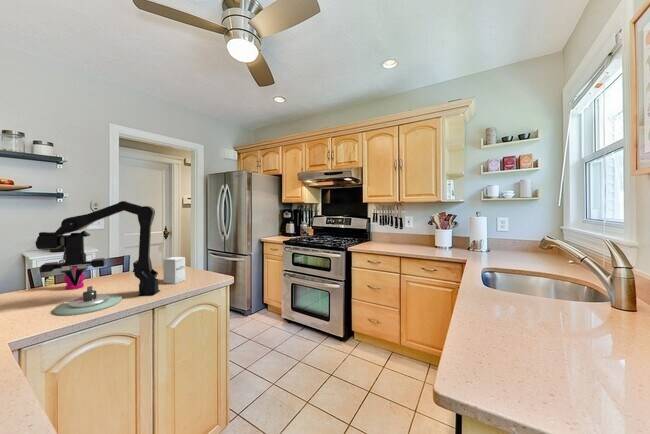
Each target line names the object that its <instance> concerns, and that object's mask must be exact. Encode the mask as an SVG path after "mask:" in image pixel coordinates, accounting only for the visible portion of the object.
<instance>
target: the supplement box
mask: <svg viewBox="0 0 650 434" xmlns="http://www.w3.org/2000/svg"><path fill="white" fill-rule="evenodd" d="M162 261H163V271H162V272H163V274H162V275H163V283H164V284H171V285H176V284H178V283H181V282H184V281H186V257H185V256H172V257H167V258H163V260H162ZM183 280H184V281H183Z"/></svg>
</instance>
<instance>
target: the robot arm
mask: <svg viewBox="0 0 650 434" xmlns="http://www.w3.org/2000/svg"><path fill="white" fill-rule="evenodd" d="M124 211H125V212H128V213H130V214H132V215H133V214H134V215H137V221H138V224H139V243H138V244H139V245H138V257H137V258H138V259H137V260H135V261H134V262H133V263H132V265H133V269H132V273H134V277H135V278H137V279H139V283H138V294H137V296H139V297H140V296H142V297H143V296H144V297H145V296H146V297H147V296H154V295H156V294H158V293H159V292H161V289H159V278H157V277H158V274H159V273H158V271H156V270H155V269H153V265H152V263H153V262H152V260H151V257H150V255H151V254H150V253H151V237H152V236H151V234H152V233H151V232H152V225H153V222H154V218H155V215H156V211H155V209H154V208H153V207H152V206H149V205H143V206H141V205H139V204H135V203H132V202H129V201H126V200H121V201H119V202H117V203H115V204H112V205H109V206H106V207H103V208H100V209H98V210H95V211H92V212H90V213H87V214H82V215H75V216H70V217H66V218H64V219H62V221H61V224H60V226H59V228H57V230H56V231H52V232H49V231H48V232H47V231H41V232H38V236H37V238H36V241H35V247H36V249H37V250H58V249H61V247H63V246H64V248H63V249H64V252H63V255H62V258H63V260H64V263H59V262H58V261H54V262H53V261H52V262H44V263H43V264H41V265H40V267H39V273H48V272H49V273H51V272H53V271H54V270H57V269H58V270H59V269H61V271H60V273H63V274H65V275H67V276H68V277H69V279H70V280H71V282H72V283H73V285H74V286H77V284H78V282H79V279H80V276H81V274H82V272H83V273H84V271H87V270H88V269H89V266H90V267H92V268H101V267H105V265H106V258H104V257H102V258H100V257H99V258H93V259H92V260H90V261H89V260H88V261H87V254H86V252H85V238H86V237H90V236H91V234H90V233H88V232H87V231H86V230H83V229H85V228H87V227H89V226H90V225H92V224H93V223H95V222H98V221H100V220H103V219H105V218H108V217H110V216H113V215H117V214H119V213H121V212H124ZM81 230H82V231H81ZM78 231H81V232H78ZM67 234H69V235H67ZM73 267H77V268H78V269H77V270H76V276H75V273H74V268H73Z"/></svg>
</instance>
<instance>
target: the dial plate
mask: <svg viewBox="0 0 650 434" xmlns="http://www.w3.org/2000/svg"><path fill="white" fill-rule="evenodd" d="M106 294H107V295H109V300H108V301H106V302H103V303H100V304H97V305H93V306H88V307H80V308H72V307H69V302H70V301H72V300H73V299H71V300H68V301H65V302H62V303H60V304H58V305H57V306H55V307H54V308H53V314H55V315H57V316H63V317H64V316H78V315H84V314H85V315H86V314H91V313H95V312H99V311H102V310H105V309H109V308H112V307H114V306H116V305H117V304H120V303H121V302H122V298H123V297H122V295H120V294H116V293H106Z"/></svg>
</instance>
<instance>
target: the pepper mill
mask: <svg viewBox="0 0 650 434" xmlns="http://www.w3.org/2000/svg"><path fill="white" fill-rule="evenodd" d="M73 268H74V273H75V276H76V270H77V269H78V268H77V267H73ZM85 279H86V278H85V274H84V271H83V272H82V274H81V276H80V279H79V282H78V284H77V286H74V285H73V283H72V282H71V280H70V279H69V277H68V276H67V275H66V274H65V276H64V277H63V282H64V283H65V284H66V285H65V290H68V291H72V290H78V289H82V288H83V287H84V286H85V283H84V282H83V281H85Z"/></svg>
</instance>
